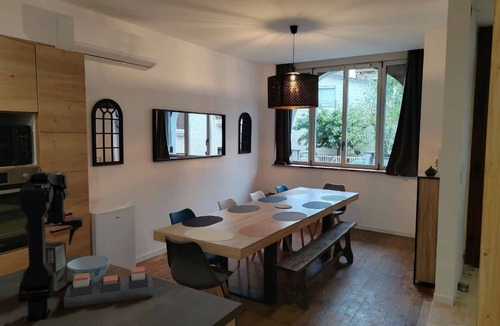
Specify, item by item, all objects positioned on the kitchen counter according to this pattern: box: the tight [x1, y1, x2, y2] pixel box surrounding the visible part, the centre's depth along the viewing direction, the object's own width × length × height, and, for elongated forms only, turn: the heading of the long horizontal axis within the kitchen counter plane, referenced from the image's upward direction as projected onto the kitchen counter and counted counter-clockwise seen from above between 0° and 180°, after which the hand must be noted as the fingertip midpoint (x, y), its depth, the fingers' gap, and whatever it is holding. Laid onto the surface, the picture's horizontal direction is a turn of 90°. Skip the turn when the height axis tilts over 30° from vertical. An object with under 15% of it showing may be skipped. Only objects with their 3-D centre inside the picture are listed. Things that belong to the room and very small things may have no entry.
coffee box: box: [42, 241, 68, 292], centre depth 129 cm, size 9×6×16 cm
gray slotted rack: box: [63, 272, 155, 309], centre depth 123 cm, size 10×28×6 cm, turn 110°
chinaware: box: [66, 255, 111, 283], centre depth 134 cm, size 15×15×8 cm
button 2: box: [103, 274, 119, 285], centre depth 121 cm, size 4×4×3 cm
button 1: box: [130, 266, 146, 281], centre depth 124 cm, size 4×4×3 cm
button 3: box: [72, 273, 90, 288], centre depth 118 cm, size 4×4×3 cm
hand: (56, 246), depth 133 cm, fingers open, 9 cm apart
